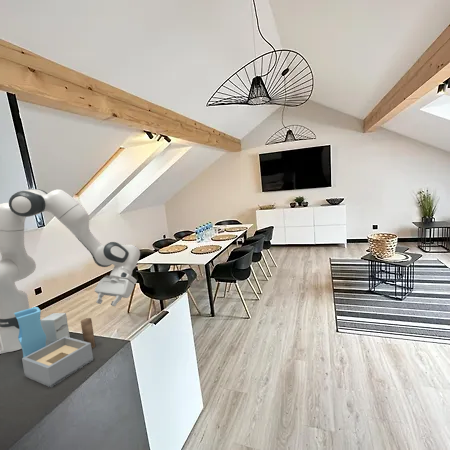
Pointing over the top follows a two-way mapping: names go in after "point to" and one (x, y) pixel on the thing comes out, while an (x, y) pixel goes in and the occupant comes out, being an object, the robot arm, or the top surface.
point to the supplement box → (55, 327)
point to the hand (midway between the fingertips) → (105, 304)
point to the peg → (88, 331)
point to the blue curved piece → (30, 330)
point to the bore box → (57, 361)
